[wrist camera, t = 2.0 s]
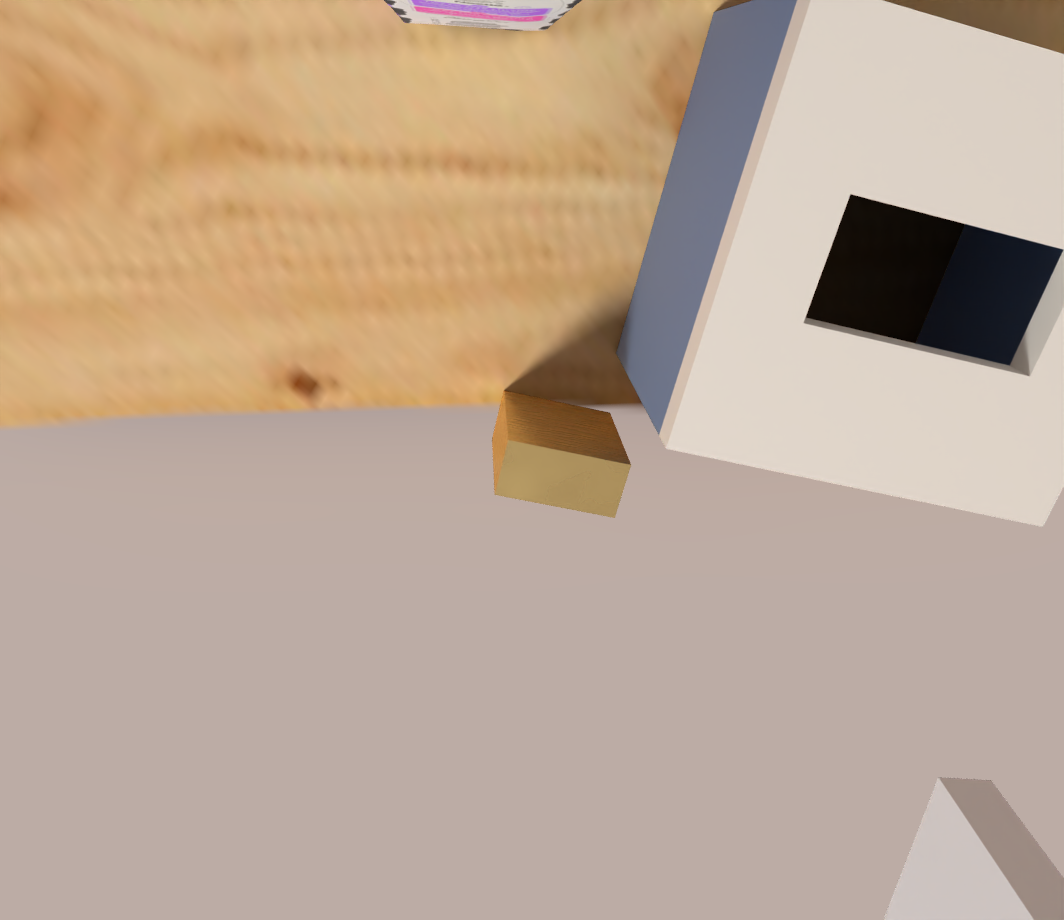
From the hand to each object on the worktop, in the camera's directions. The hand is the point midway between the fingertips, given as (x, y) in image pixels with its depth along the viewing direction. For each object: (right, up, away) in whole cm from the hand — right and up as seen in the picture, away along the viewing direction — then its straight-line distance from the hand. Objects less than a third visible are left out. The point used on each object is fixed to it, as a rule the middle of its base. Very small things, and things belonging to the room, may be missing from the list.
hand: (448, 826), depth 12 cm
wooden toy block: (+2, +6, +29) cm, 30 cm away
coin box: (+13, +15, +26) cm, 33 cm away
